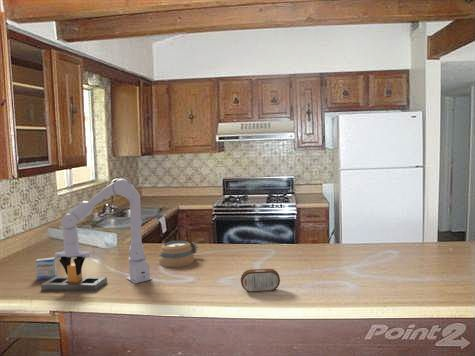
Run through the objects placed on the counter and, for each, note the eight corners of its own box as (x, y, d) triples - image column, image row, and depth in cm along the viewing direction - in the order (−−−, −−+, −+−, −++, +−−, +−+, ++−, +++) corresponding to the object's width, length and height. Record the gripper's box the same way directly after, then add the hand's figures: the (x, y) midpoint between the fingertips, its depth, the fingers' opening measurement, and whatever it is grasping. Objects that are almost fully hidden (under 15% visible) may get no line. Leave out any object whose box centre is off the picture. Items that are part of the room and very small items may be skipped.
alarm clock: (151, 247, 195) (174, 236, 217) (152, 266, 196) (175, 253, 217) (183, 249, 189) (203, 237, 211) (184, 268, 190) (204, 254, 212)
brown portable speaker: (279, 288, 159) (279, 267, 158) (280, 291, 156) (280, 269, 155) (241, 290, 158) (240, 269, 158) (241, 293, 155) (240, 272, 155)
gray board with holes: (107, 282, 175) (106, 276, 174) (95, 291, 165) (95, 285, 165) (55, 282, 179) (55, 276, 178) (41, 290, 169) (40, 284, 168)
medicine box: (36, 280, 182) (35, 261, 182) (38, 277, 187) (37, 258, 186) (55, 277, 185) (54, 259, 184) (57, 274, 189) (55, 256, 188)
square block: (82, 279, 174) (81, 263, 173) (77, 282, 170) (75, 265, 169) (73, 279, 174) (72, 263, 174) (68, 282, 171) (66, 265, 170)
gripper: (92, 239, 173) (94, 271, 174) (60, 240, 175) (63, 271, 176) (83, 244, 166) (86, 276, 167) (50, 244, 168) (53, 276, 169)
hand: (73, 274), depth 171 cm, fingers closed on square block, 4 cm apart
